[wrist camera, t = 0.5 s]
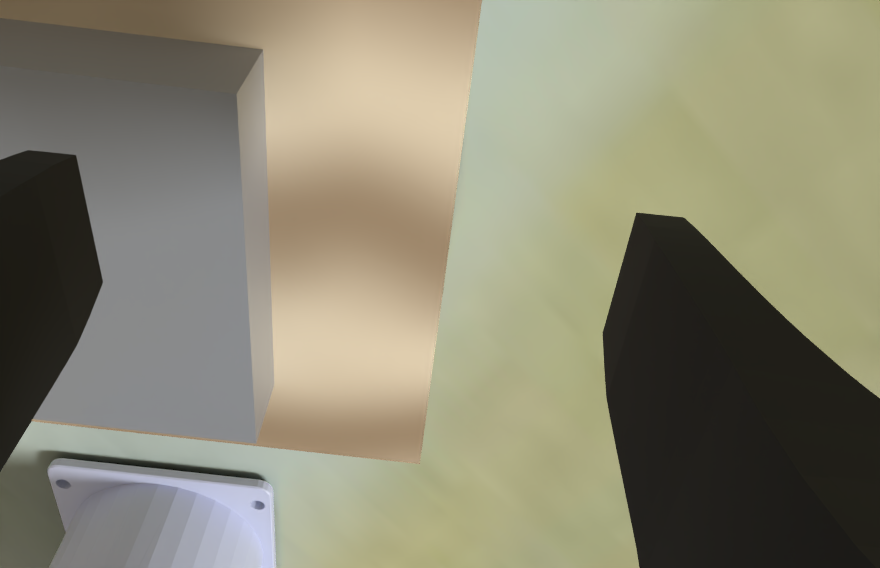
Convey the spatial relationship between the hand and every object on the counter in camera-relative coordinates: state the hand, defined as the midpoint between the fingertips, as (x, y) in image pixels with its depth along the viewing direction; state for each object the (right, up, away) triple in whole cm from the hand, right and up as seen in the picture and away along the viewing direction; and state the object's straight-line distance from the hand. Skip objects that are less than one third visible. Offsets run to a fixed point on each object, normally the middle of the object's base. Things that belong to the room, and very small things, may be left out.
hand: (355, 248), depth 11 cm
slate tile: (-6, +1, +7) cm, 9 cm away
